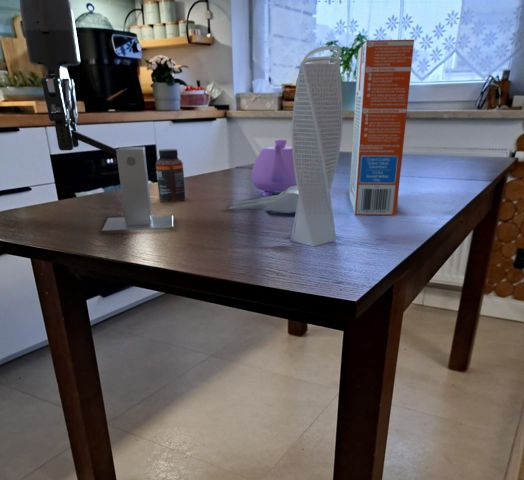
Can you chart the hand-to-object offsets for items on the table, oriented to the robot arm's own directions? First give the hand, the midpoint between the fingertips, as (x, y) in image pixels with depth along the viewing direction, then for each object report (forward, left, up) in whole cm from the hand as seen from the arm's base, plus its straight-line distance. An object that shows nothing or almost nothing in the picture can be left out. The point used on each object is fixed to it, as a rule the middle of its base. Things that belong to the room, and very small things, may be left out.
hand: (69, 148), depth 86 cm
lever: (+5, 0, -1) cm, 5 cm away
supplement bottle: (+16, +25, -14) cm, 33 cm away
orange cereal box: (+59, +14, -14) cm, 62 cm away
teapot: (+42, +32, -14) cm, 55 cm away
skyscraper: (+39, -14, -14) cm, 44 cm away
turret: (+37, +10, -14) cm, 41 cm away
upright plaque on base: (+10, 0, -14) cm, 17 cm away
